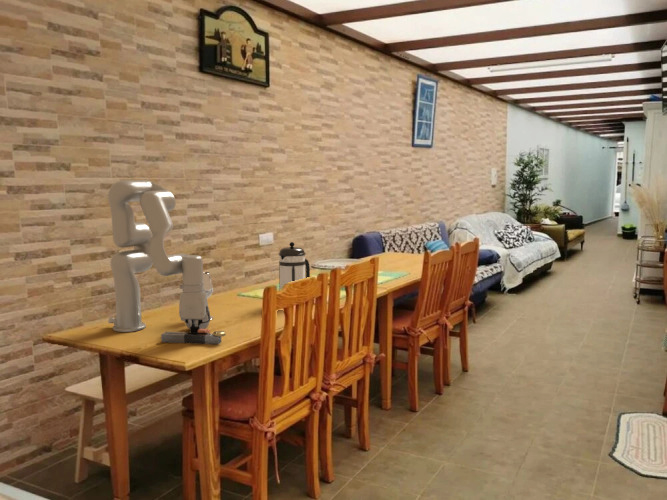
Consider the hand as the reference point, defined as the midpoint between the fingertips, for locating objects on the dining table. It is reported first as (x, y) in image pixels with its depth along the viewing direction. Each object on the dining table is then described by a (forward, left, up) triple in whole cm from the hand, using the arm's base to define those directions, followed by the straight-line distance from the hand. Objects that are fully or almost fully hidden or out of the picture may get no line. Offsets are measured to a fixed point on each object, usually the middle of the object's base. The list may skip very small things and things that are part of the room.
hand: (195, 336), depth 216 cm
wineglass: (-9, +31, -1) cm, 32 cm away
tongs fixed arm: (+1, -4, -1) cm, 4 cm away
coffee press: (+22, +65, -1) cm, 69 cm away
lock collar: (+4, 0, -1) cm, 4 cm away
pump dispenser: (-5, +14, -1) cm, 14 cm away
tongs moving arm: (0, -5, -1) cm, 5 cm away
